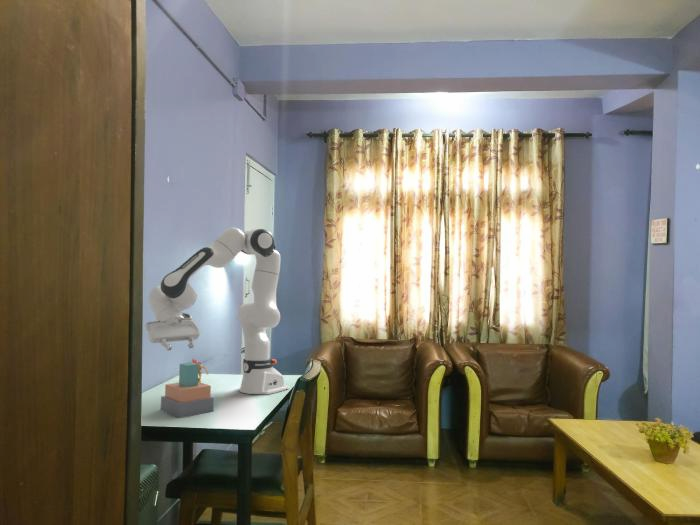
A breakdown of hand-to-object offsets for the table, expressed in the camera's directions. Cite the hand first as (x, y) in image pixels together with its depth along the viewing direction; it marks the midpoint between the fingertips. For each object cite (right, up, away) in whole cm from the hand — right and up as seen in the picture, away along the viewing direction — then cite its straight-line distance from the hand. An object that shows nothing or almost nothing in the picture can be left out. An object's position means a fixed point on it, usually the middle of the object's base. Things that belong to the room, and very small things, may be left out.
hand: (180, 348), depth 203 cm
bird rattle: (-8, -23, +44) cm, 50 cm away
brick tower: (+4, -23, -5) cm, 23 cm away
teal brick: (+4, -13, -5) cm, 15 cm away
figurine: (-1, -23, +26) cm, 35 cm away
